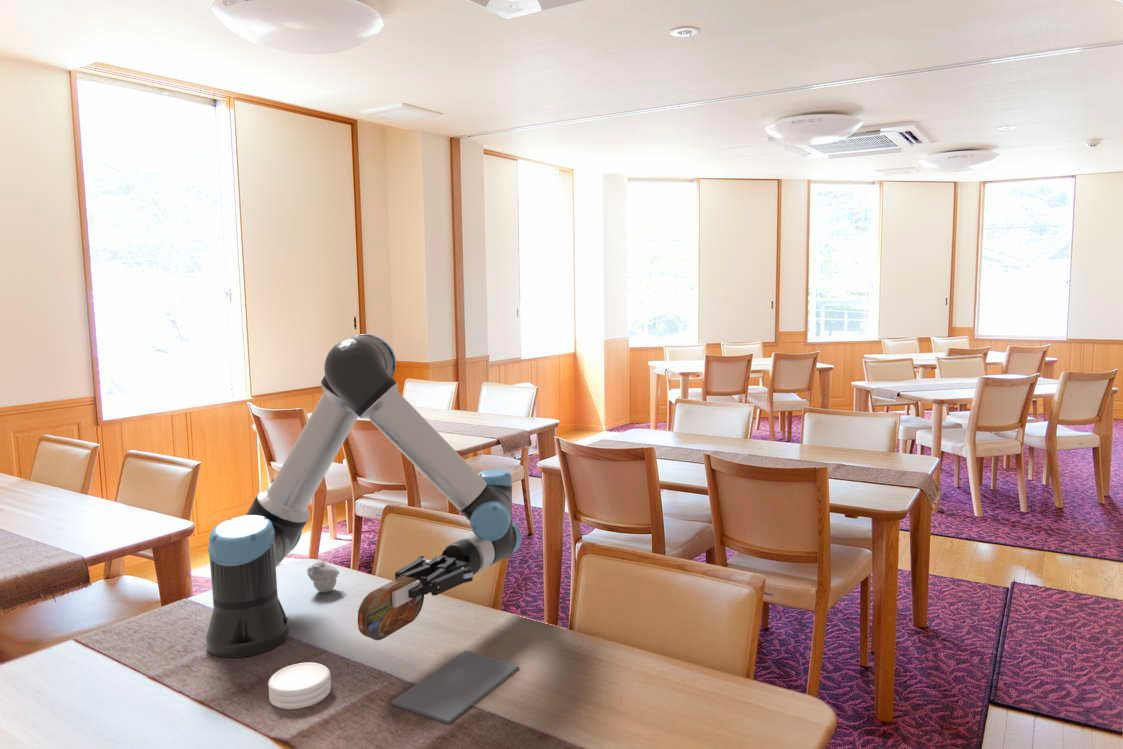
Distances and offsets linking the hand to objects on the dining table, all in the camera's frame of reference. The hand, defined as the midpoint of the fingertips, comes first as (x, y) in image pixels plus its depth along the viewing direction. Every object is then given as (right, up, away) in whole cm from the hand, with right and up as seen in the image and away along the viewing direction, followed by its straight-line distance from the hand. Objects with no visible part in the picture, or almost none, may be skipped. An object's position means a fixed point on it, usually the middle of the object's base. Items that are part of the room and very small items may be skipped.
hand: (387, 597), depth 137 cm
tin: (0, -6, +2) cm, 6 cm away
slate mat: (+13, -14, -4) cm, 19 cm away
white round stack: (-14, -15, -5) cm, 21 cm away
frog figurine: (-23, -10, +38) cm, 45 cm away
